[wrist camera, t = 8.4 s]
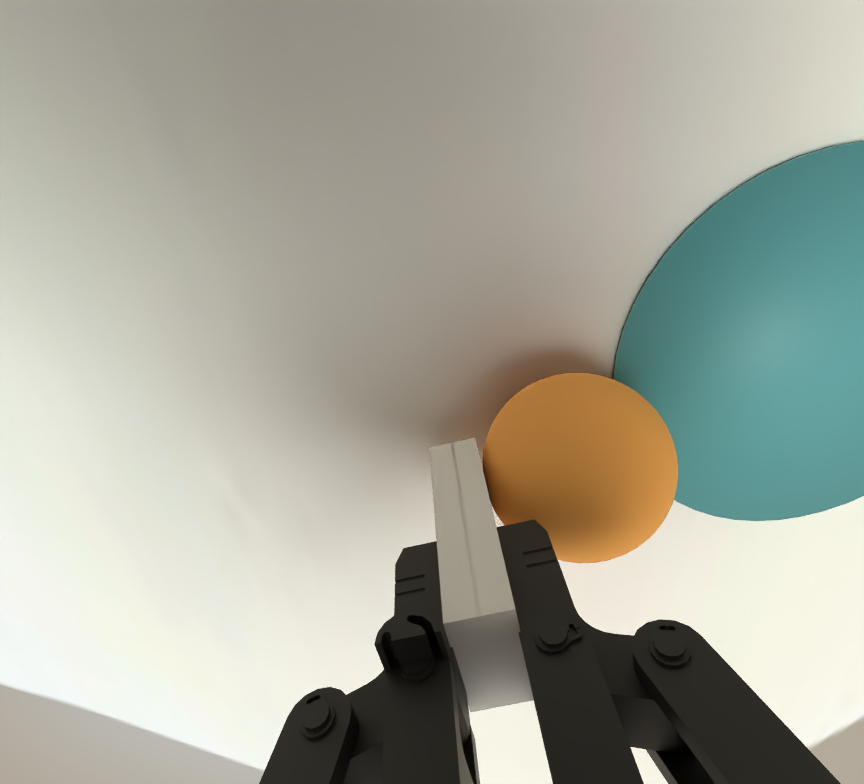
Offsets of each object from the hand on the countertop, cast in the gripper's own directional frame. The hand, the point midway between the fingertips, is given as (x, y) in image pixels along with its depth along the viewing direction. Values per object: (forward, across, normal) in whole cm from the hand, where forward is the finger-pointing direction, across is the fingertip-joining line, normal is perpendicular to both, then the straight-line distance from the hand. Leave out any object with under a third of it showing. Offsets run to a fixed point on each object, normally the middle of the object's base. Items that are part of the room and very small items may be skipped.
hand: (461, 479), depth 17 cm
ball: (-1, +3, 0) cm, 3 cm away
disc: (+2, +12, 0) cm, 12 cm away
